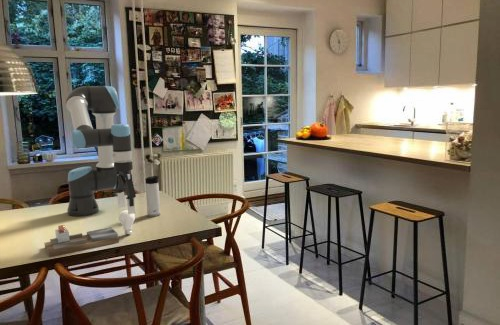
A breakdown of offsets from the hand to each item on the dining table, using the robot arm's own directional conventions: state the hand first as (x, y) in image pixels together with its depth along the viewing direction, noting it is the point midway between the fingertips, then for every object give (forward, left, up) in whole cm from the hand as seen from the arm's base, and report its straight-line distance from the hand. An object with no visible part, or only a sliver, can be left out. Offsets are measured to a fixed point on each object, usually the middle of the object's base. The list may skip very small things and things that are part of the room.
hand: (126, 210), depth 175 cm
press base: (+1, -19, -11) cm, 22 cm away
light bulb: (0, 0, -11) cm, 11 cm away
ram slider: (+1, -26, -9) cm, 28 cm away
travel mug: (-22, +20, -11) cm, 32 cm away
